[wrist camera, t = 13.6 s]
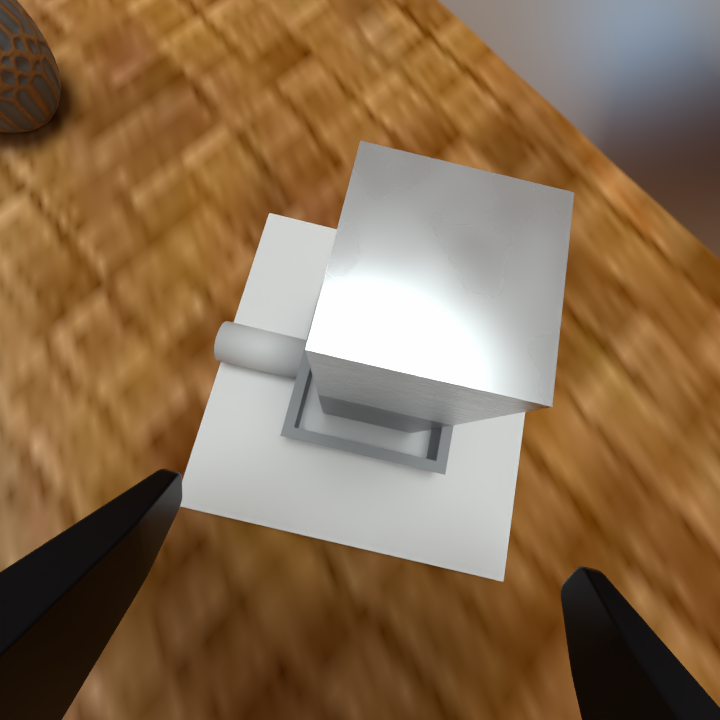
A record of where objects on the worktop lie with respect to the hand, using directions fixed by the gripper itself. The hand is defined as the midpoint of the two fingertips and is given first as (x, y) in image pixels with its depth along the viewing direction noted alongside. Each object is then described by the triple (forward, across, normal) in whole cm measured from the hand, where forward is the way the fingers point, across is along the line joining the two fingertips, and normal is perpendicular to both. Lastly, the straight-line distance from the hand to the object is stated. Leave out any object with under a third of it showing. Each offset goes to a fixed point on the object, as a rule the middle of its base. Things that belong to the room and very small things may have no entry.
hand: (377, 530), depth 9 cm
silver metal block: (+11, 0, +4) cm, 12 cm away
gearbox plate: (+12, 0, +5) cm, 13 cm away
